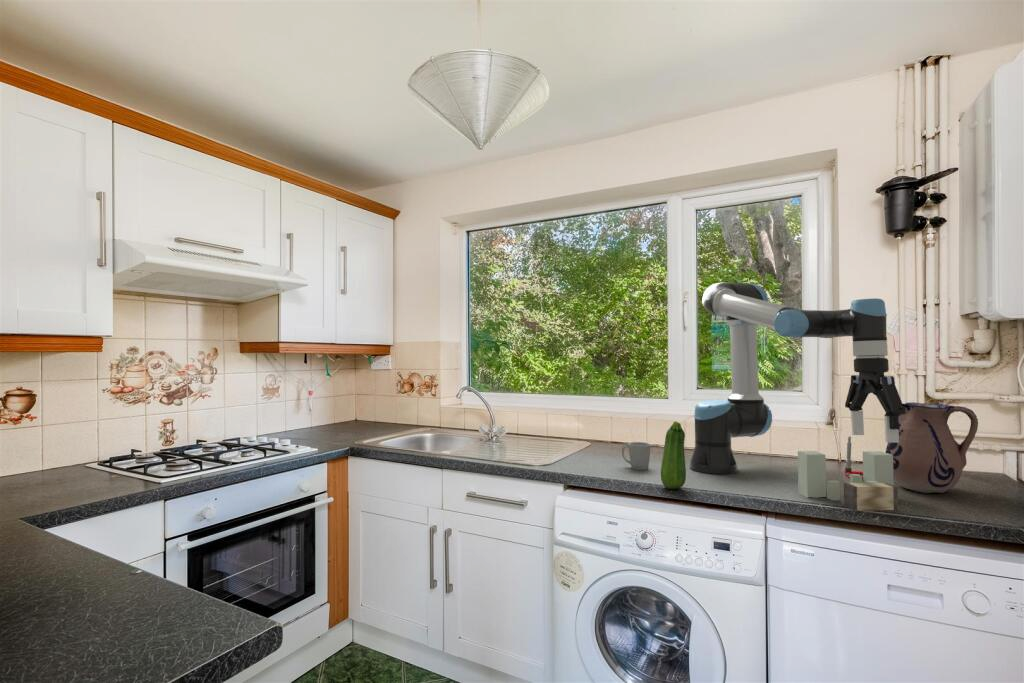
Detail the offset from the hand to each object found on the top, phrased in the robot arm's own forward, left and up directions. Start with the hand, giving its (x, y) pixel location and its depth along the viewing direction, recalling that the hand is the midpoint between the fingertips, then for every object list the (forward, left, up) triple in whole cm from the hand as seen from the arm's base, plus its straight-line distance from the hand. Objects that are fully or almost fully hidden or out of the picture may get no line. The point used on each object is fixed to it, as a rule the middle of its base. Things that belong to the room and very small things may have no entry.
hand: (874, 438), depth 133 cm
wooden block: (-2, -1, -18) cm, 18 cm away
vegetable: (-48, +16, -18) cm, 54 cm away
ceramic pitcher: (+26, +17, -18) cm, 36 cm away
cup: (-54, +42, -18) cm, 71 cm away
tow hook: (+16, +32, -18) cm, 40 cm away
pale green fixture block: (+6, +10, -18) cm, 21 cm away
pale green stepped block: (-10, +10, -18) cm, 22 cm away
